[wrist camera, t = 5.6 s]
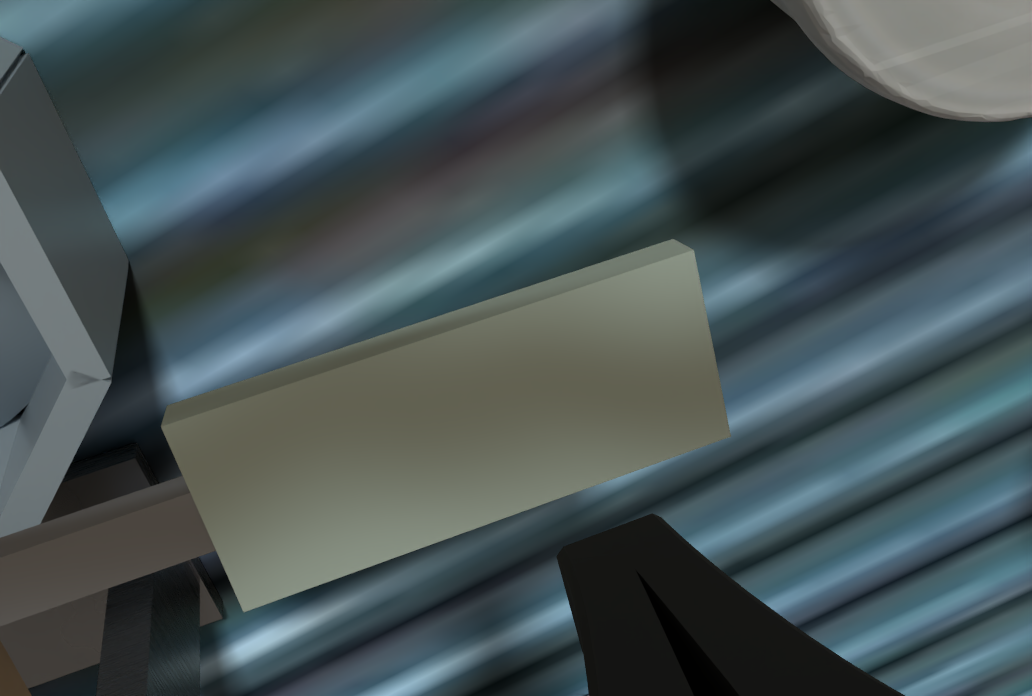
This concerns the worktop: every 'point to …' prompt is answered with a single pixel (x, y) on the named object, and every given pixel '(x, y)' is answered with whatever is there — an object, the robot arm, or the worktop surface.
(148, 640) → the fulcrum
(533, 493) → the lever
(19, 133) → the bowl
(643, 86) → the worktop surface
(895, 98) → the ramekin
